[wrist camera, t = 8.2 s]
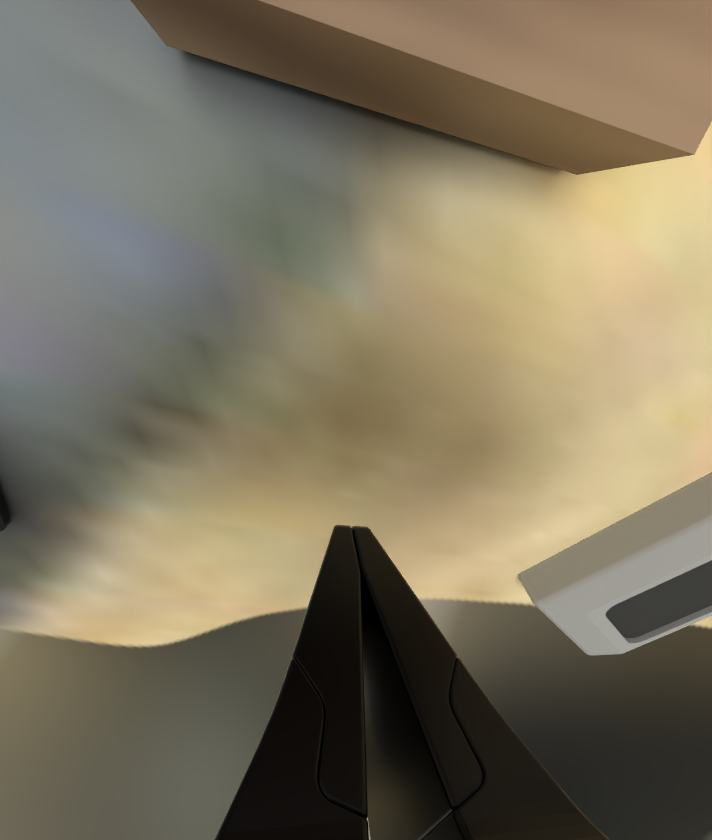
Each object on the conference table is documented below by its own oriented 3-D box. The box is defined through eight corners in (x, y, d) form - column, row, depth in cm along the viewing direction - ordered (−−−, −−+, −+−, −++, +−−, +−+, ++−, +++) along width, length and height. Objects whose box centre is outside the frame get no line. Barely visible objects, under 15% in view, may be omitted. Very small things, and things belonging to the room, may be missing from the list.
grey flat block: (543, 623, 22) (827, 488, 18) (514, 569, 25) (750, 444, 21) (596, 672, 26) (833, 573, 22) (566, 621, 29) (768, 526, 25)
